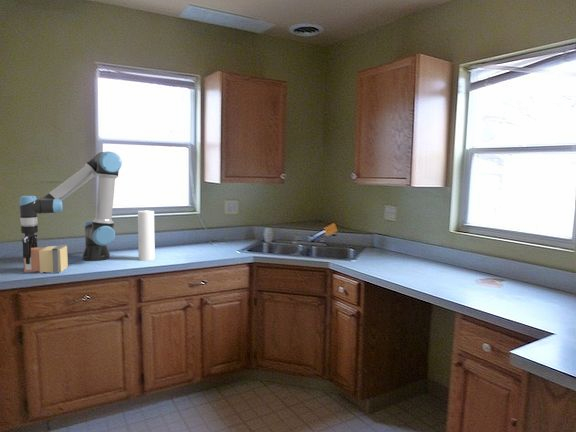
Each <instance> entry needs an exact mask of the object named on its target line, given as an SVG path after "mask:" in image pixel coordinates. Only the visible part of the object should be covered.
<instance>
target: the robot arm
mask: <svg viewBox="0 0 576 432" xmlns="http://www.w3.org/2000/svg"><path fill="white" fill-rule="evenodd" d="M122 161H123V160H122V159H121V157H120V156H119V154H117V153H116V152H113V151H102V152H98V153H96V154H95V155H93V156H92V158H91V159H89V160H88V161H86V163H85V164H84V166H83V167H82V168H81V169H79V170H78V171H77V172H75V173H74V174H73V175H71V176H70V177H69V178H67V179H66V180H64V182H61V183H60V184H58V186H56V187H55V188H54V189H52V190H51V191H49V192H48V193H47V194H46V195H44V196H42V197H40V198H39V199H37V196H36V195H22V196H20V197H19V214H20V215H19V217H20V219H19V221H20V225H21V226H20V233H21V234H24V237H23V238H21V241H22V258H23V259H24V258H25V265H26V270H32V258H31V248H35V247H38V235H37V234H36V233H38V232H39V230H38V227H39V226H38V224H39V223H38V214H57V213H58V214H59V213H62V212H63V207H64V206H63V201H64V200H65V199H67V197H69V196H70V195H72V194H73V193H75V191H77V190H78V189H79V188H81V187H82V186H83V185H85V184H86V183H88V181H90V180H91V179H93V178H95V177H98V183H97V197H96V205H95V206H96V209H95V218H94V219H92V220H91V221H86V222H85V223H84V238H85V240H84V241H85V242H84V243H85V245H84V246H85V247H84V250H83V253H82V260H83V261H90V262H91V261H103V260H107V259H110V258H111V253H110V251H109V248H108V245H110V244H111V243H113V242H114V240H115V238H116V231H115V230H114V227H115V221H113V220H112V217H113V206H114V196H115V195H114V194H115V186H116V185H115V184H116V178H118V177H119V173H120V169H121V168H122V165H123V164H122V163H123V162H122Z"/></svg>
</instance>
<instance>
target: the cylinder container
mask: <svg viewBox="0 0 576 432" xmlns="http://www.w3.org/2000/svg"><path fill="white" fill-rule="evenodd" d="M137 236H138V237H137V242H138V244H137V246H138V247H137V248H138V261H140V262H141V261H142V262H145V261H146V262H147V261H153V260H155V259H156V258H155V257H156V255H155V254H156V249H155V248H156V247H155V238H156V237H155V210H147V209H145V210H138V211H137Z"/></svg>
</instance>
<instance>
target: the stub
mask: <svg viewBox="0 0 576 432" xmlns="http://www.w3.org/2000/svg"><path fill="white" fill-rule="evenodd" d="M43 248H45V247H44V246H43V247H40V246H39V247H38V246H37V247H35V248H31V258H32V270H26V265H25V258H23V266H24V267H23V268H24V269H23V271H24V273H35V272H34V271H40V261H39V250H41V249H43ZM32 271H33V272H32Z"/></svg>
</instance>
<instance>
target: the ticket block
mask: <svg viewBox="0 0 576 432" xmlns="http://www.w3.org/2000/svg"><path fill="white" fill-rule="evenodd" d="M39 261H40V272H39V273H40V274H44V273H43V272H53V273H52V274H59V273H58V272H61V271H62V272H64V271H65V270H67V268H68V267H69V266H68V265H69V263H68V262H69V261H68V245H67V243H60V244H59V245H50V246H49V245H46V246H45V247H44V248H43V249H41V250H39ZM64 269H65V270H64ZM63 270H64V271H63ZM62 272H61V273H62Z"/></svg>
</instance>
